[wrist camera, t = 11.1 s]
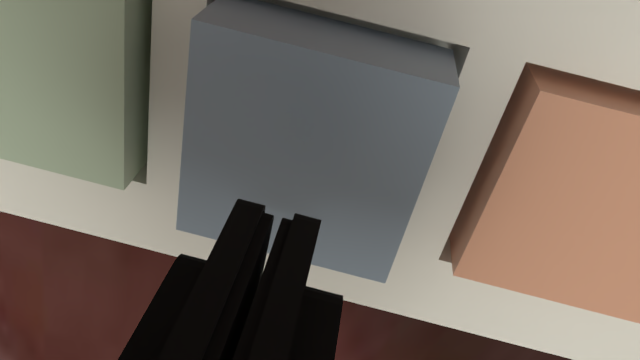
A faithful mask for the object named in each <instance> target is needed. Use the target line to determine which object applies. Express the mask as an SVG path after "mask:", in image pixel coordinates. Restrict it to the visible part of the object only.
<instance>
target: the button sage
mask: <svg viewBox="0 0 640 360" xmlns="http://www.w3.org/2000/svg"><path fill="white" fill-rule="evenodd" d="M151 25H152V0H0V159H4V160H8V161H12V162H16V163H19V164H23V165H27V166H31V167H35V168H39V169H43V170H47V171H50V172H54V173H58V174H62V175H66V176H70V177H74V178H78V179H81V180H85V181H89V182H93V183H97V184H101V185H105V186H109V187H112V188H116V189H120V190H125V189H126V187H127V186H128V185H129V184H130V183H131V181H132V180H133V179H134V178H135V177H136V175H137V174H138V173H139V172H140V170H141V169H142V168H143V167H144V166H145V164H146V163H147V153H148V121H149V89H150V57H151Z"/></svg>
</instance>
